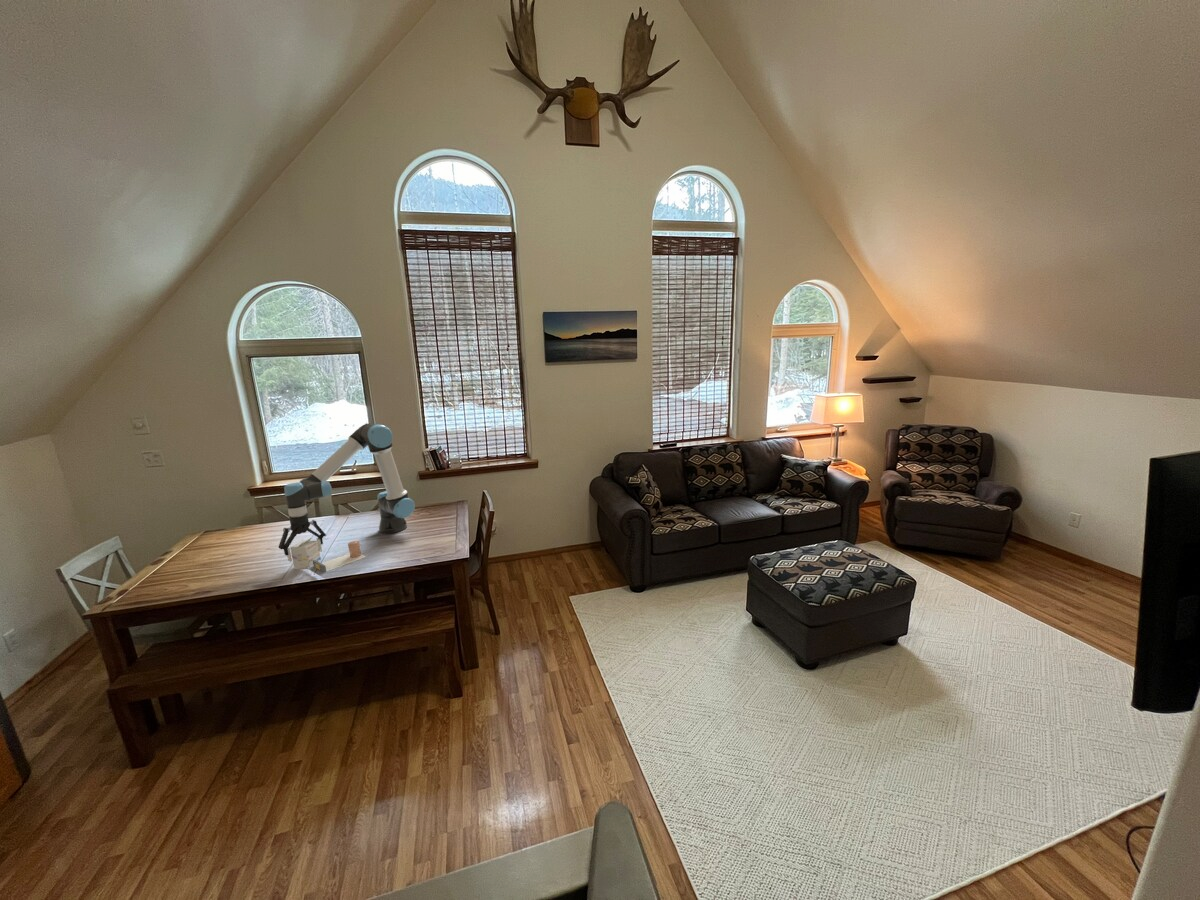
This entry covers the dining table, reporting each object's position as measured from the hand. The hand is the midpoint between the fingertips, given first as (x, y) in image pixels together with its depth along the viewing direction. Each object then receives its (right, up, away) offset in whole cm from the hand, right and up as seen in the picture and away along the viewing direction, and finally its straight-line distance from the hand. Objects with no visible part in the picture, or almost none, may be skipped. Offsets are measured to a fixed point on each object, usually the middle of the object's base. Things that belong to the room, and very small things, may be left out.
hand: (305, 555), depth 233 cm
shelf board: (+17, -4, +1) cm, 17 cm away
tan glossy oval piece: (+21, -1, +6) cm, 22 cm away
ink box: (0, -5, +1) cm, 6 cm away
